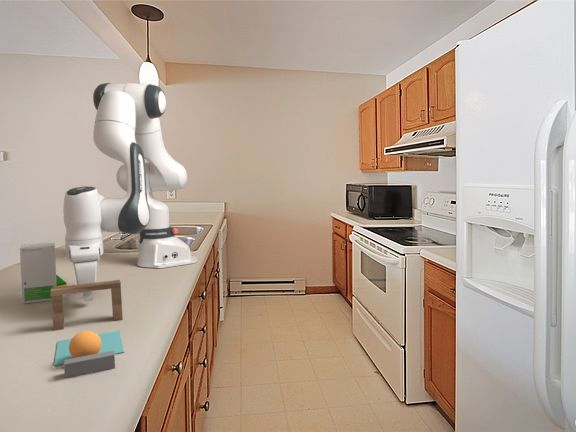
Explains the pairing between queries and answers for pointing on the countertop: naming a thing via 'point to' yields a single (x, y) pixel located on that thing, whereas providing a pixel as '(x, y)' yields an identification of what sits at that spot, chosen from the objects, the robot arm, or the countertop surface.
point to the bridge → (59, 291)
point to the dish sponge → (60, 282)
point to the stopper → (89, 364)
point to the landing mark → (108, 343)
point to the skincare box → (37, 271)
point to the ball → (84, 344)
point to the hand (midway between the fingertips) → (88, 299)
